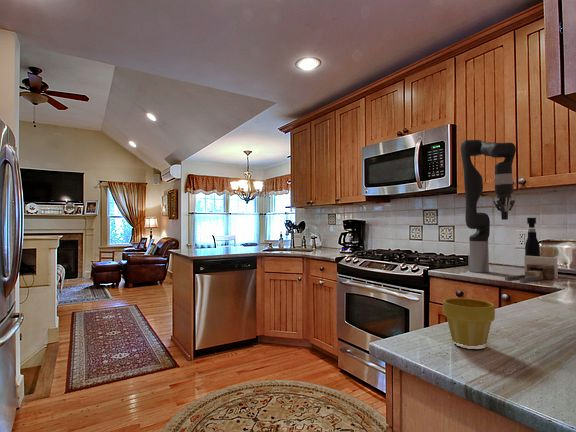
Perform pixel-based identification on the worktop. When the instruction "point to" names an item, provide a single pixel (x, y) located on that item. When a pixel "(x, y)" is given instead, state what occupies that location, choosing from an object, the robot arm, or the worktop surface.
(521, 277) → the guide rails
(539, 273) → the peg
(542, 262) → the backstop board
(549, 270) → the block
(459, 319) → the plant pot
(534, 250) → the wine bottle
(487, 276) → the worktop surface
